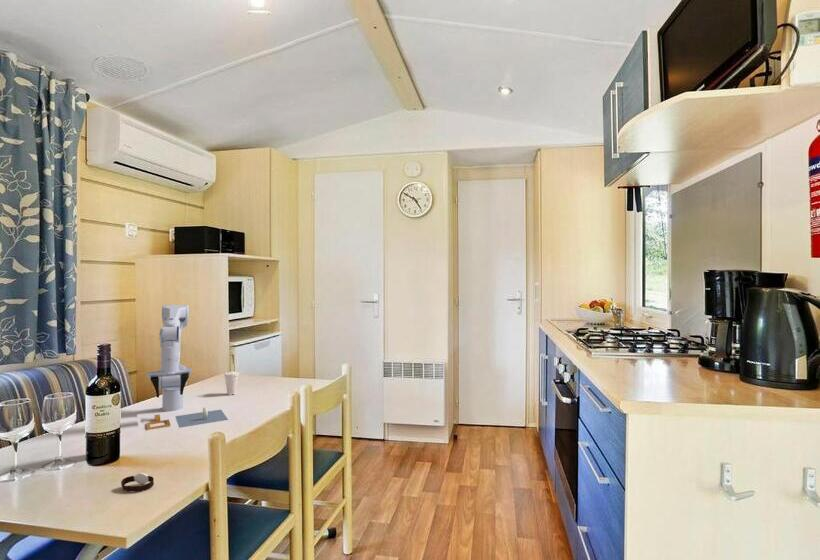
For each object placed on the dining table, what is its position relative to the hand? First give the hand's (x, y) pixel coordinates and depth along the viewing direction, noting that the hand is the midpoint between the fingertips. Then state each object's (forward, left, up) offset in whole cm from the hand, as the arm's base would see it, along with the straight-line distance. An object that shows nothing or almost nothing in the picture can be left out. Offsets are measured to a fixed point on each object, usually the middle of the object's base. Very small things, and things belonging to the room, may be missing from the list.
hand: (169, 395), depth 162 cm
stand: (+6, +10, -9) cm, 15 cm away
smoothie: (-28, +27, -10) cm, 40 cm away
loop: (+4, -4, -9) cm, 11 cm away
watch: (+55, -11, -10) cm, 57 cm away
